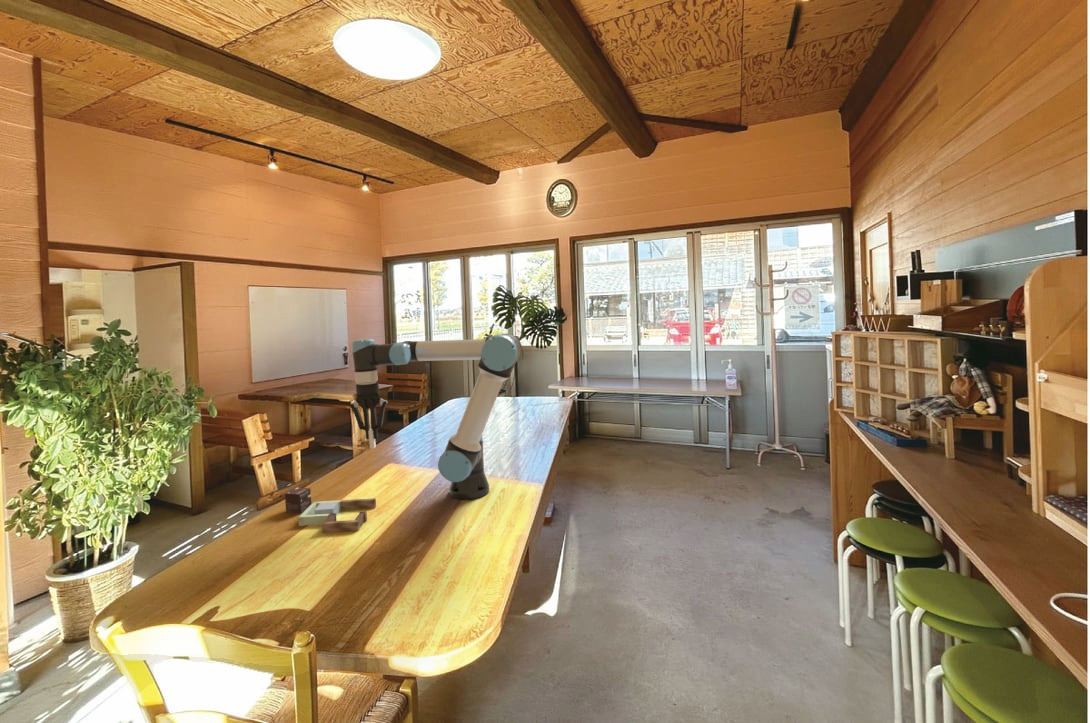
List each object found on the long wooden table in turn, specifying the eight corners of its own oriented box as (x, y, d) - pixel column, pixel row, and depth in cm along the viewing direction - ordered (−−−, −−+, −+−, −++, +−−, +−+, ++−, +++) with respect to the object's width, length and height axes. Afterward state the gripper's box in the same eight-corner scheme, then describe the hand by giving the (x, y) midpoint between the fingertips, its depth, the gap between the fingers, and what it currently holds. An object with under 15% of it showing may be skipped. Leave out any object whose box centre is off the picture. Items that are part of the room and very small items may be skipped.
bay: (341, 508, 168) (341, 500, 168) (328, 524, 155) (328, 515, 155) (314, 509, 167) (313, 501, 167) (298, 526, 154) (298, 517, 154)
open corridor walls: (376, 506, 169) (375, 498, 169) (359, 530, 150) (359, 521, 149) (341, 508, 168) (341, 500, 168) (321, 533, 149) (320, 524, 148)
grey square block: (339, 512, 165) (338, 501, 164) (334, 519, 159) (333, 508, 158) (321, 514, 164) (320, 503, 163) (315, 521, 158) (314, 510, 158)
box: (300, 514, 164) (298, 494, 163) (285, 513, 165) (283, 493, 164) (312, 507, 170) (310, 488, 169) (297, 506, 171) (296, 487, 170)
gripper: (387, 380, 170) (393, 443, 172) (350, 382, 168) (356, 446, 171) (383, 382, 163) (389, 448, 165) (344, 385, 161) (351, 452, 163)
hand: (372, 447), depth 168 cm, fingers closed
